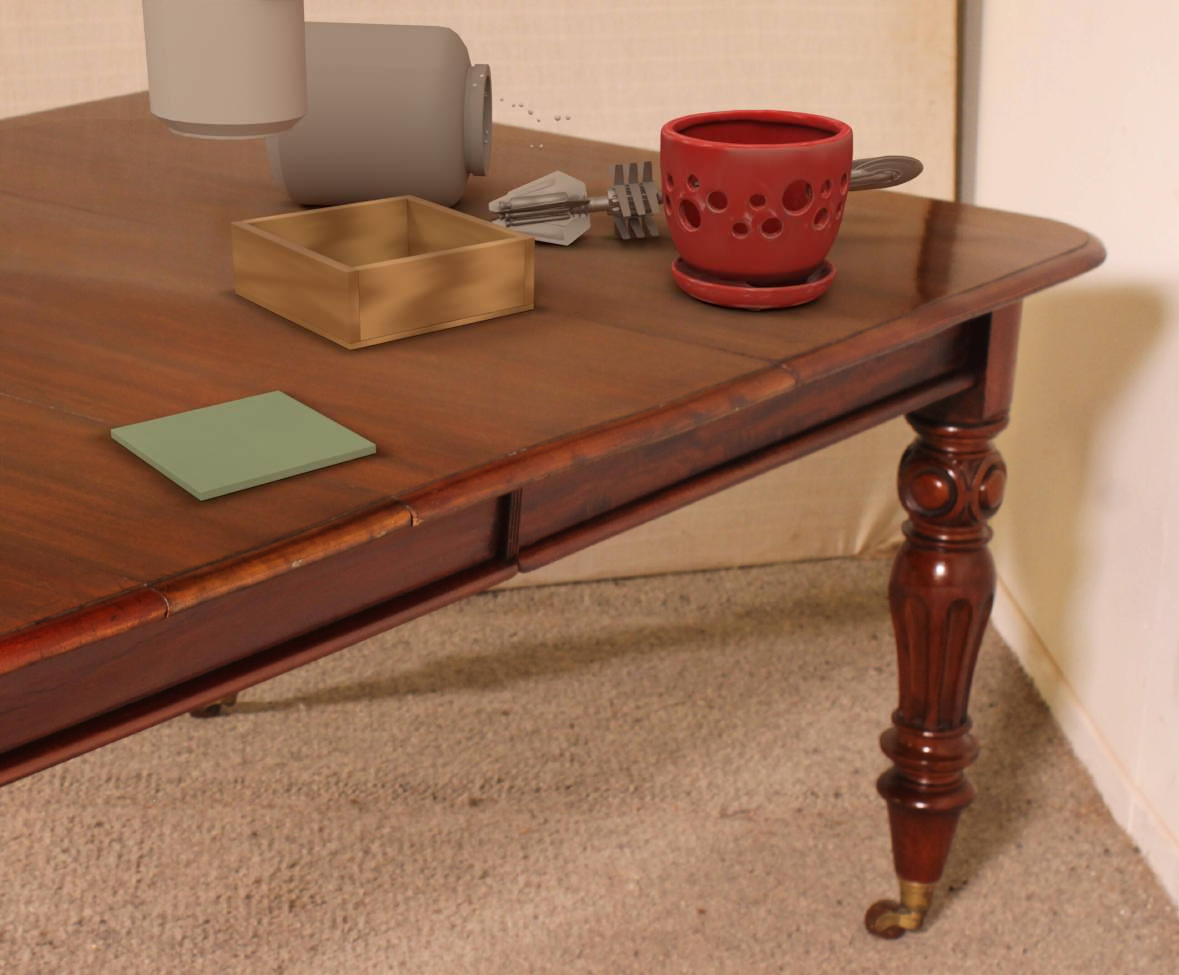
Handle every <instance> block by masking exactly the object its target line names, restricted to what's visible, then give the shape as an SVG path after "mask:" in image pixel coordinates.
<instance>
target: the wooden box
mask: <svg viewBox="0 0 1179 975" xmlns="http://www.w3.org/2000/svg"><path fill="white" fill-rule="evenodd" d="M230 235H231V250H232V264H233V276H234V277H233V278H234V293H235V295H237V296H239V297H241V298H243V299H245V300H247V301H249V302H251V303H253V304H256V305H258V306H259V307H262V308H263V309H265V310H268V311H270V312H272V313H273V314H275V315H277V316H280V317H282V318H284V319H286V320H288V321H290V322H292V323H294V324H296V325H298V326H300V327H302V328H305V329H307V330H309V331H311V332H313V333H315V334H317V335H319V336H320V337H323V338H325V339H327V340H329V341H330V342H333V343H335V344H338V345H339V346H341V347H343V348H345V349H347V350H349V351H352V350H357V349H361V348H365V347H370V346H375V345H380V344H384V343H389V342H393V341H396V340H401V339H406V338H410V337H411V338H412V337H415V336H420V335H424V334H429V333H432V332H438V331H442V330H447V329H451V328H455V327H459V326H464V325H469V324H473V323H478V322H482V321H486V320H490V319H497V318H501V317H506V316H509V315H514V314H518V313H523V312H527V311H532V310H535V262H536V261H535V255H536V254H535V253H536V251H535V250H536V248H535V247H536V240H535V237H532V236H529V235H526V234H523V233H521V232H518V231H515V230H512V229H509V228H506V227H503V226H500V225H497V224H494V223H492V221H488V220H485V219H482V218H479V217H476V216H473V215H470V214H468V213H464V212H462V211H459V210H455V209H453V208H451V207H449V208H447V207H444V206H441V205H438V204H435V203H432V202H429V201H427V200H424V199H421V198H418V197H415V196H412V195H406V196H399V197H393V198H386V199H380V200H373V201H367V202H360V203H354V204H347V205H341V206H328V207H322V208H315V209H309V210H303V211H296V212H289V213H282V214H276V215H275V214H274V215H270V216H264V217H256V218H249V219H244V220H237V221H231V222H230Z"/></svg>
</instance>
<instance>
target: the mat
mask: <svg viewBox="0 0 1179 975" xmlns="http://www.w3.org/2000/svg"><path fill="white" fill-rule="evenodd" d="M110 436H111V439H113V440H114V441H116V442H117V443H118V444H120V445H121V446H122V447H124V448H125V449H127V450H128V451H130V452H131V453H132V454H134V455H135V456H136V457H138V458H139V459H141V460H142V461H143V462H145V463H146V464H148V465H149V466H151V467H152V468H154V469H155V470H156V471H158V472H159V473H161V474H162V475H163V476H165V477H166V478H168V479H169V480H170V481H172V482H173V483H175V484H176V485H178V486H179V487H181V488H182V490H185V491H187V493H189V494H191V495H192V496H193V497H194V498H196V499H197V500H199V501H201V502H203V501H206V500H211V499H214V498H217V497H221V496H224V495H229V494H232V493H235V492H239V491H243V490H247V489H250V488H254V487H257V486H260V485H261V486H262V485H265V484H268V483H269V484H270V483H272V482H275V481H279V480H282V479H287V478H291V477H293V476H294V477H295V476H298V475H301V474H304V473H309V472H311V471H312V472H313V471H315V470H320V469H322V468H327V467H330V466H334V465H338V464H341V463H344V462H347V461H348V462H350V461H352V460H355V459H356V460H357V459H360V458H363V457H367V456H370V455H374V454H376V453H377V444H376V443H374V442H372V441H370V440H368V439H366V438H365V437H364V436H361V435H359V434H358V433H357V432H354V431H352V430H351V429H349V428H347V427H346V426H343V425H342V424H340V423H338V422H336V421H334V420H332V419H331V418H329V417H327V416H325V415H324V414H322V413H320V412H318V411H316V410H315V409H313V408H311V407H309V406H307V405H306V404H304V403H302V402H300V401H299V400H297V399H295V398H293V397H291V396H289V395H288V394H286V393H285V392H282V391H281V390H274V391H270V392H266V393H260V394H257V395H252V396H247V397H244V398H240V399H236V400H232V401H227V402H222V403H219V404H218V403H217V404H214V405H209V406H205V407H201V408H198V409H193V410H189V411H188V410H187V411H185V412H180V413H176V414H172V415H167V416H163V417H159V418H154V419H150V420H146V421H141V422H137V423H133V424H128V425H125V426H124V425H123V426H121V427H115V428H111V429H110Z"/></svg>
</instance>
